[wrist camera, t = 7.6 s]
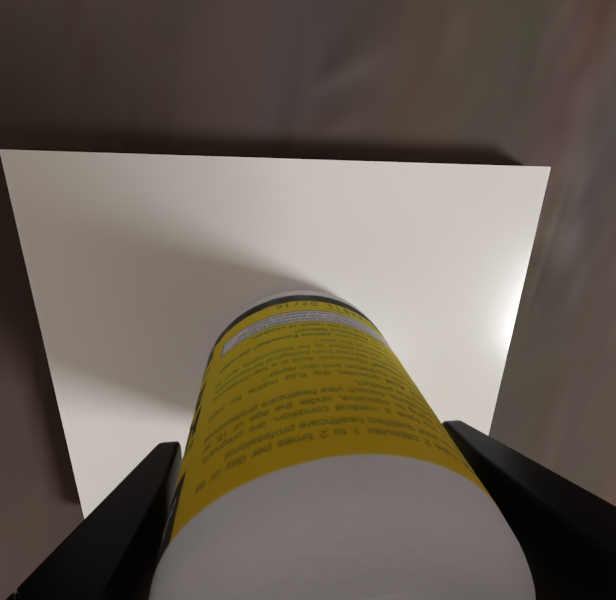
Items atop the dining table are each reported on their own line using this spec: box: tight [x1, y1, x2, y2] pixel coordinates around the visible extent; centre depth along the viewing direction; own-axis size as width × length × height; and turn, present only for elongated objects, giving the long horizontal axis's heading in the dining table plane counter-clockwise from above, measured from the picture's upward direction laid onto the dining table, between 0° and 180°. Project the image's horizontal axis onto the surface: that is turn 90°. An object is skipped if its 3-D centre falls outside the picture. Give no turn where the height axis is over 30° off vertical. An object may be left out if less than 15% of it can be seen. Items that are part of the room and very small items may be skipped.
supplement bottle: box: [148, 290, 536, 600], centre depth 7 cm, size 5×5×10 cm
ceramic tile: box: [0, 149, 551, 519], centre depth 12 cm, size 14×12×1 cm
